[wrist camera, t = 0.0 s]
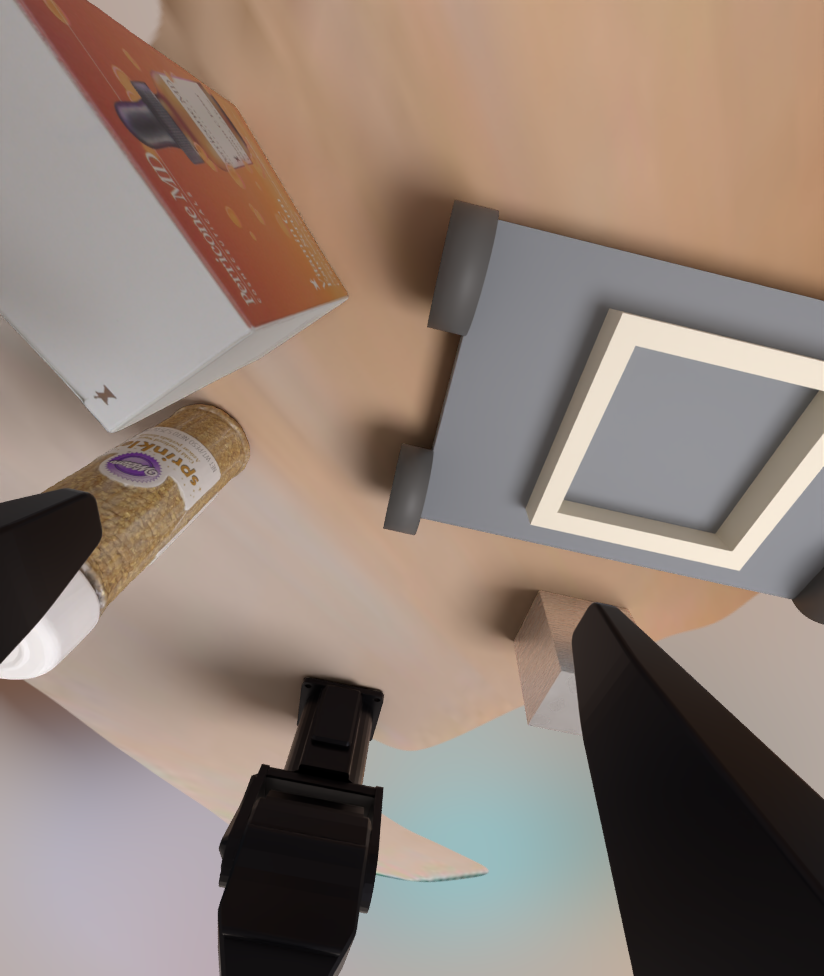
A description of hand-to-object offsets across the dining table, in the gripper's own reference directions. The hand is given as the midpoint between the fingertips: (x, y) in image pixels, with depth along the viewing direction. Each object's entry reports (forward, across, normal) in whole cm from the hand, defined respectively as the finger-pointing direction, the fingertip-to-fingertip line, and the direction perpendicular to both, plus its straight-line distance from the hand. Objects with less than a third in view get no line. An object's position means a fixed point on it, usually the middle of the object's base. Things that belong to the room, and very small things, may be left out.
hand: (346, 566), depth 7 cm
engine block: (+15, -14, +14) cm, 25 cm away
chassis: (+15, -13, 0) cm, 20 cm away
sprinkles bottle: (+15, +10, +6) cm, 19 cm away
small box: (+15, +8, -4) cm, 17 cm away
